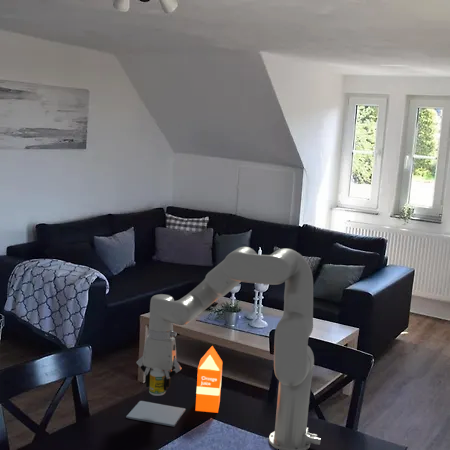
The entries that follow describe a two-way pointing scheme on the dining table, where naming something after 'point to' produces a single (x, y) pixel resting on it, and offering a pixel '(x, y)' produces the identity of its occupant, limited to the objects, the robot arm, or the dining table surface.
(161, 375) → the supplement bottle
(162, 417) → the felt mat
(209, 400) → the orange juice
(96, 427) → the dining table surface
